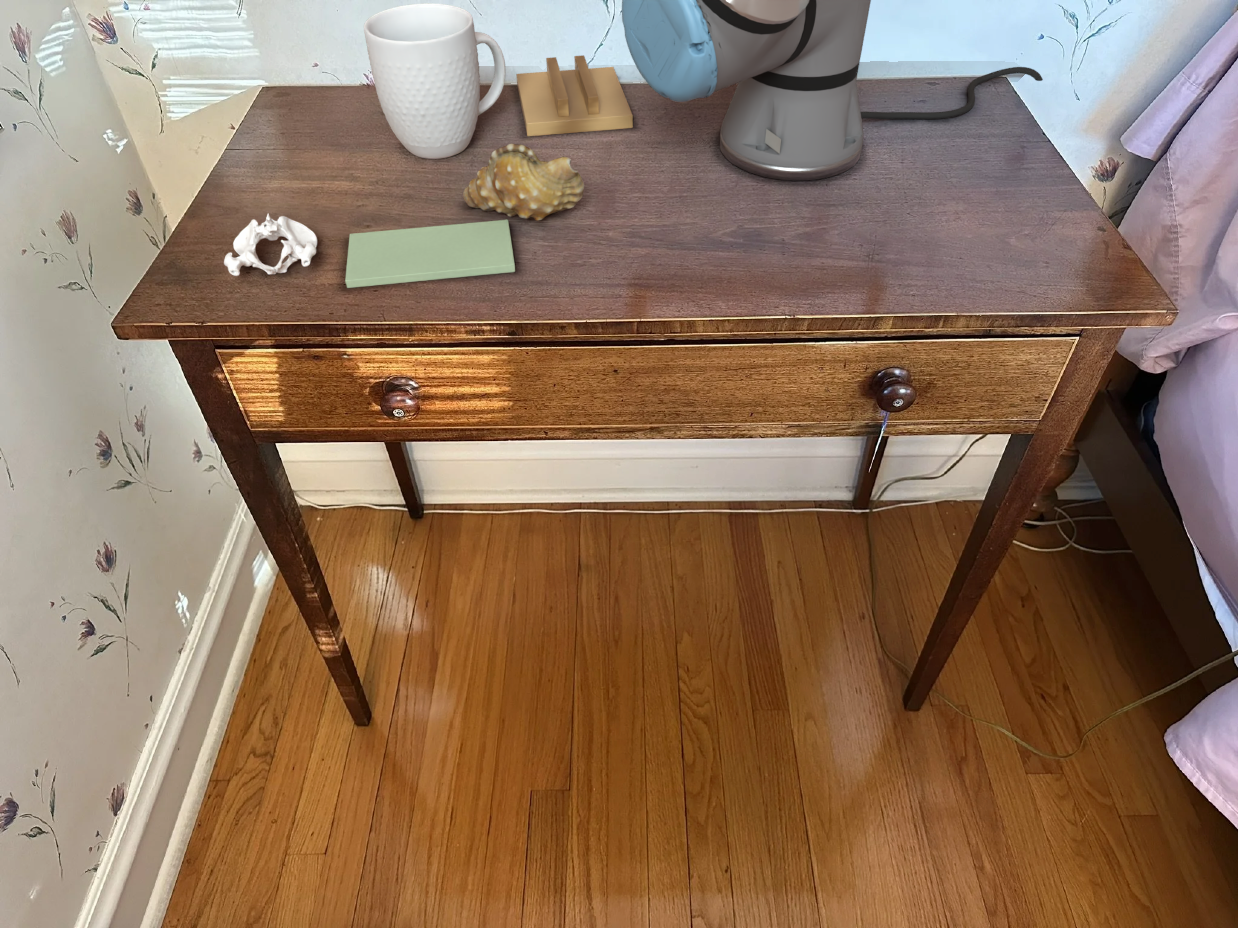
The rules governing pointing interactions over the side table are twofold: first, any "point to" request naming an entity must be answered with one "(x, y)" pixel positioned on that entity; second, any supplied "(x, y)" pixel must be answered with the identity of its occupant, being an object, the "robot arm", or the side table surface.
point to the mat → (429, 253)
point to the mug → (430, 75)
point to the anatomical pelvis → (296, 247)
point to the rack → (572, 99)
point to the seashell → (524, 184)
